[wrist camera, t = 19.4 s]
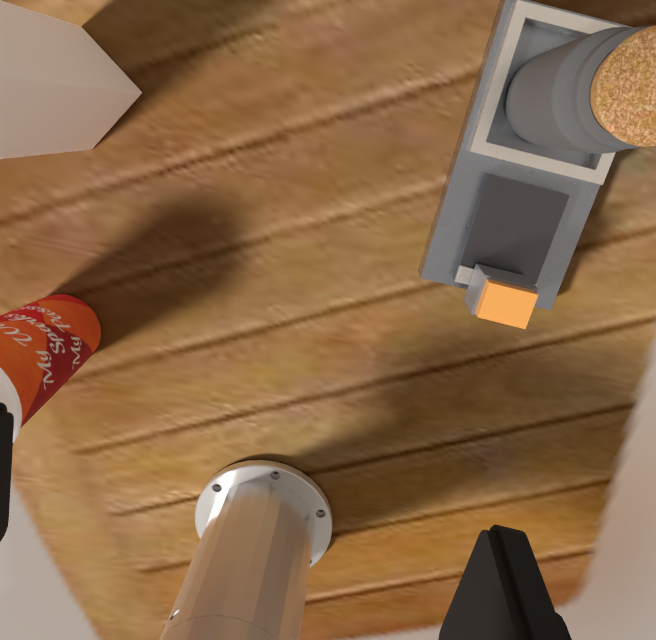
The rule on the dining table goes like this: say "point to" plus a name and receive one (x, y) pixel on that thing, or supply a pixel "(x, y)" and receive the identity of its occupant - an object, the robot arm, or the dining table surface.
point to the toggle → (501, 296)
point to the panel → (514, 169)
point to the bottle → (589, 93)
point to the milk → (55, 86)
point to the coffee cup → (43, 351)
